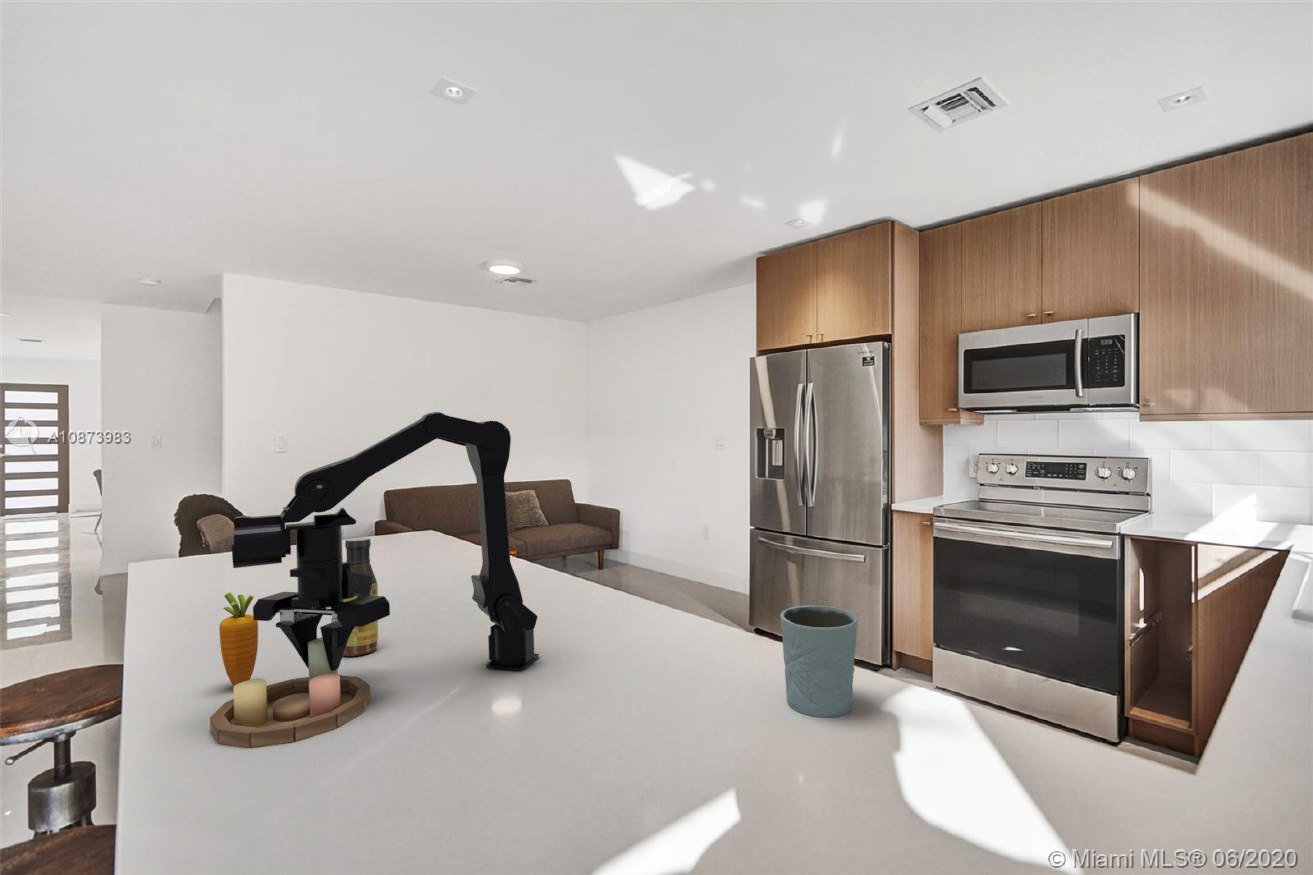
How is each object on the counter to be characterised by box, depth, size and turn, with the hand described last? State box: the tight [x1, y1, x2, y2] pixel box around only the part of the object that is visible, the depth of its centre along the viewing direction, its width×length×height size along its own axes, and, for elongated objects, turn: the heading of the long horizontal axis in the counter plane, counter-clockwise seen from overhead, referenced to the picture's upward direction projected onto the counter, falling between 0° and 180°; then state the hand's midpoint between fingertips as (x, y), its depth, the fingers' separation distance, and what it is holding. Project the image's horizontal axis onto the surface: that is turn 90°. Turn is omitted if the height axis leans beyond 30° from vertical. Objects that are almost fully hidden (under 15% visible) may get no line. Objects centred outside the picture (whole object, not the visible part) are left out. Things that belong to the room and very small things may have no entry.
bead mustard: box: [232, 678, 267, 727], centre depth 83 cm, size 4×4×5 cm
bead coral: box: [309, 674, 341, 718], centre depth 84 cm, size 4×4×5 cm
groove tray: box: [209, 674, 372, 748], centre depth 85 cm, size 18×18×2 cm
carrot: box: [218, 591, 259, 687], centre depth 95 cm, size 5×5×15 cm
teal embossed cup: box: [780, 604, 858, 718], centre depth 85 cm, size 10×10×12 cm
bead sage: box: [308, 636, 339, 680], centre depth 90 cm, size 4×4×5 cm
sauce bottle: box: [343, 537, 379, 657], centre depth 112 cm, size 7×6×20 cm
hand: (323, 668), depth 90 cm, fingers closed on bead sage, 4 cm apart
